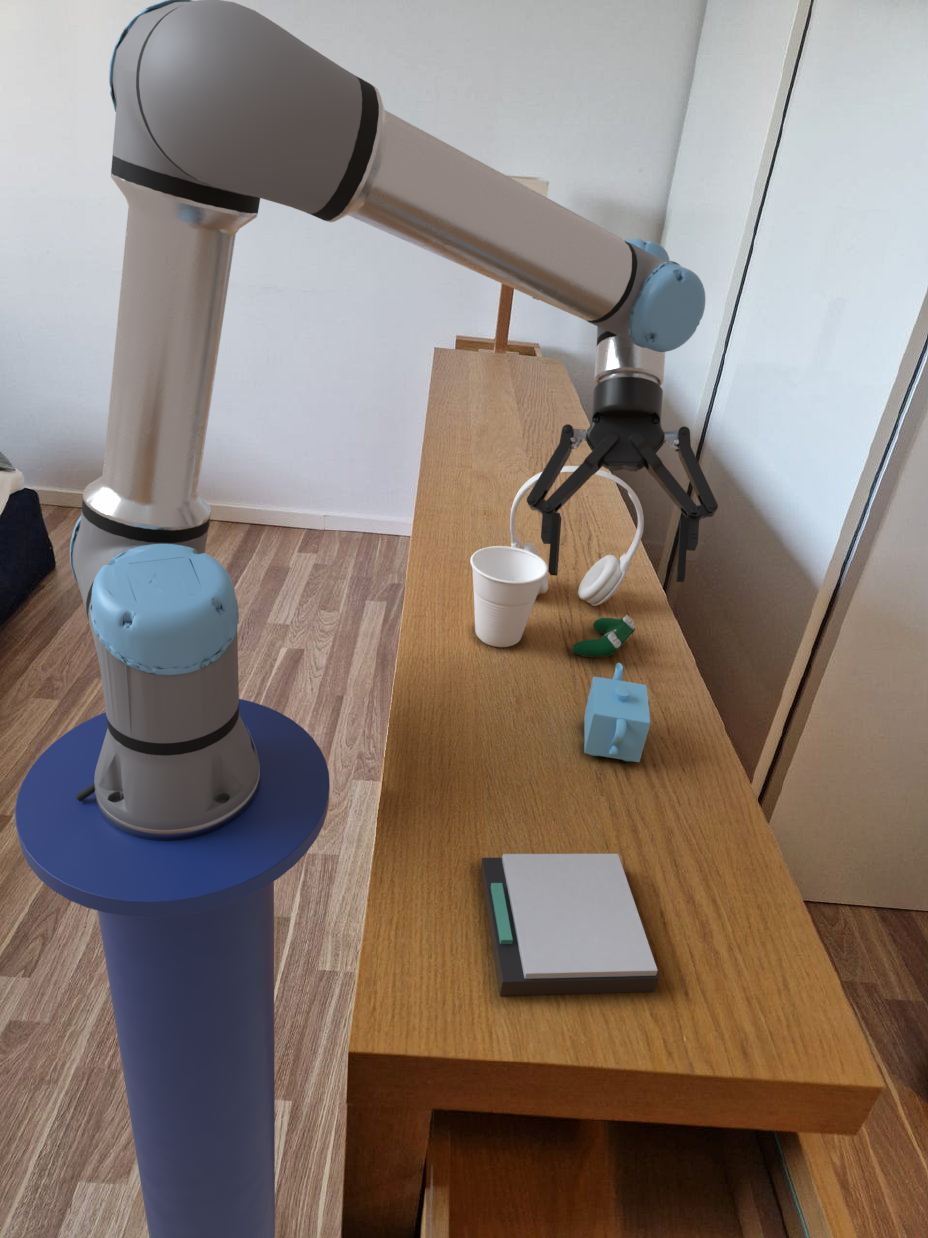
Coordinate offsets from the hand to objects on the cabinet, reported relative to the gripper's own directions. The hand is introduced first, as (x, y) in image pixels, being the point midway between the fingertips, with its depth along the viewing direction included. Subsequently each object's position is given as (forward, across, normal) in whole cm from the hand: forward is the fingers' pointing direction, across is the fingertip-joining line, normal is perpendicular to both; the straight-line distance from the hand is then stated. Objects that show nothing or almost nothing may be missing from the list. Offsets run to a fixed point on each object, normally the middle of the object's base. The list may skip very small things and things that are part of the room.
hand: (615, 577), depth 94 cm
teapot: (+18, 0, -8) cm, 19 cm away
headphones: (-1, +9, -32) cm, 33 cm away
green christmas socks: (+6, +2, -23) cm, 24 cm away
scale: (+34, +2, +15) cm, 37 cm away
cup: (+6, +16, -20) cm, 26 cm away
